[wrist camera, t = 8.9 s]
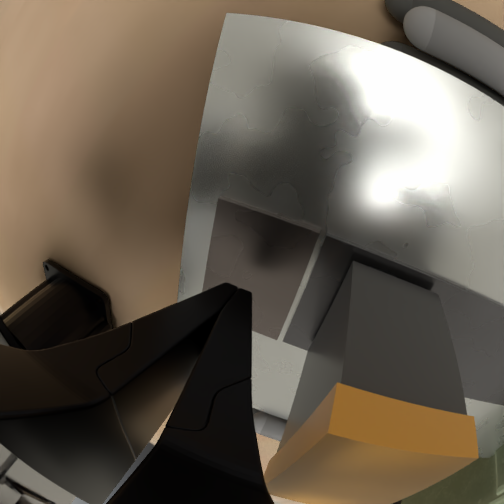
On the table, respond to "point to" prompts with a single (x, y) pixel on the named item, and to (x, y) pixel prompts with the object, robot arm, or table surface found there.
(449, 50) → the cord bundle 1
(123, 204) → the table surface
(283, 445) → the lever
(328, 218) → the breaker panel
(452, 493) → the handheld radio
